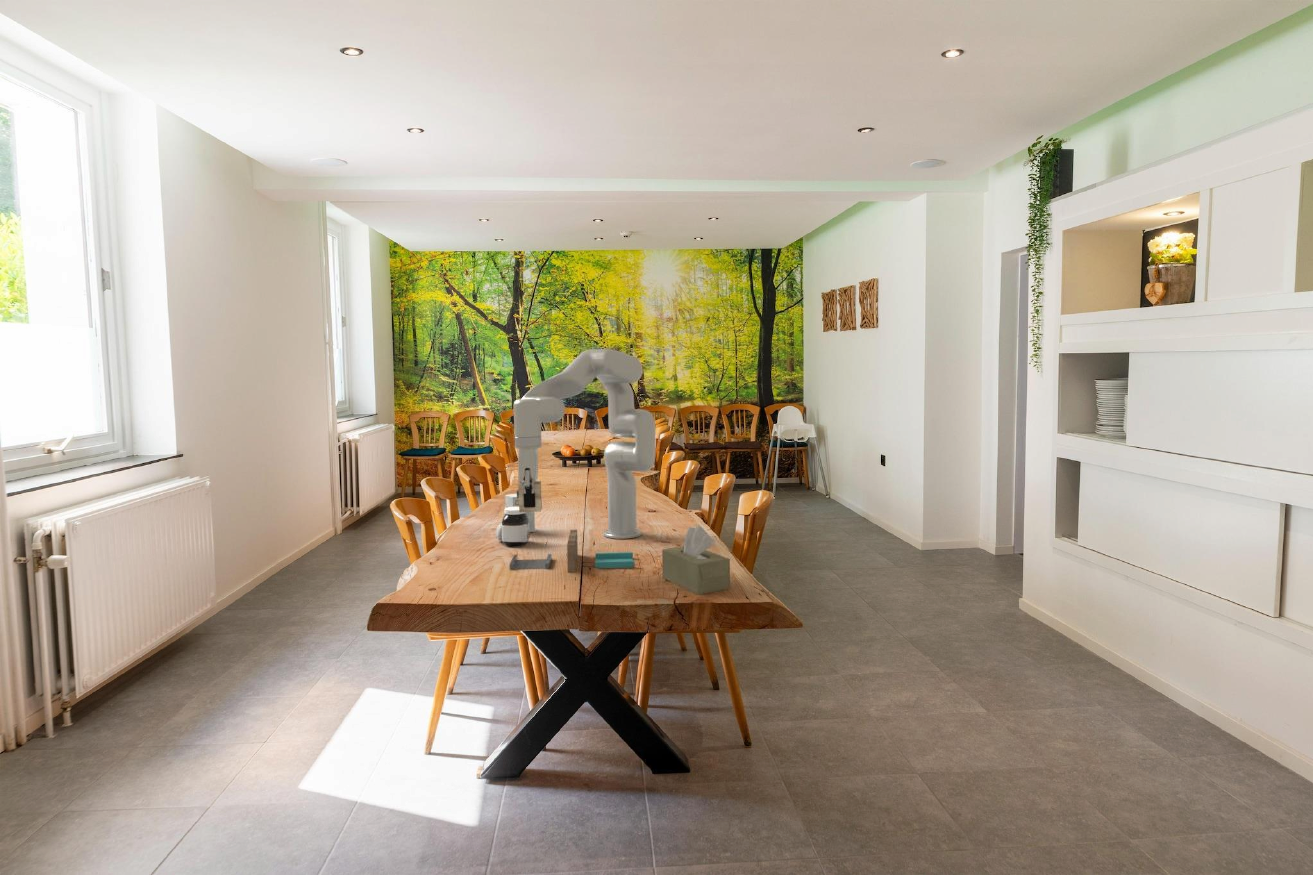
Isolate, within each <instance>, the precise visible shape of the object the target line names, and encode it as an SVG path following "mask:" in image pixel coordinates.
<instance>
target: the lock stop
mask: <svg viewBox="0 0 1313 875" xmlns="http://www.w3.org/2000/svg"><path fill="white" fill-rule="evenodd" d="M531 486H532V485H531ZM517 487H518V488H517V490H516V494H517V498H519V512H534V513H537V512H542V509H543V502H542V498H543V497H542V481H541V480H539V481H538V480H536V482H535V483H534V493H535V507H530V508H525V507H524V495H523V494H524V481H523V482H522V483H519V482H518V484H517Z"/></svg>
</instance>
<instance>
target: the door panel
mask: <svg viewBox="0 0 1313 875" xmlns="http://www.w3.org/2000/svg"><path fill="white" fill-rule="evenodd" d="M568 534H569V536H568V540H567V544H566V552H567V553H566V554H567V555H566V556H567V573H576V568H577V563H578V562H577V561H578V557H579V556H578V548H579V547H578V545H579V544H578V529H570V531H569V533H568Z"/></svg>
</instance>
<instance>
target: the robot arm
mask: <svg viewBox="0 0 1313 875" xmlns="http://www.w3.org/2000/svg"><path fill="white" fill-rule="evenodd" d="M643 370H644V369H643V365H642V362H641V361H640V359H638V358H637V357H636V356H633V355H631V354H628V353H625V352H623V351H619V350H616V349H612V348H590V349H586V350H583V351H582V352H581V353H579V355H578V356H576V357H575V358H574V359H573V360H572V362H570V363H569V364H568V366H566V367H565V368H564V369H563V370H562V371H561V372H559V373H557V374H555V375H553V376H551V377H549V378H547V379H545V380H542V381H540V382H539V383H537V384H535V385H533V387H531V388H530V389H529V390H528V391H527V392H526V393H525V394H524V395H523V396H522V398H519V399H516V400H514V402H513V407H512V408H513V421H514V422H513V426H514V428H513V430H514V448H515V449H517V450H518V451H517V452H518V454H517V455H518V457H517V461H518V462H517V467H518V469H517V470H518V471H517V473H518V481H517V482H518V484H519V483H522V482H524V494H523V495H524V507H525V508H530V507H535V493H534V483H535V482H536V481H538V477H539V451H538V450H539V449H540V448H542V447H543V446H542V442H543V441H542V423H548V424H549V423H551V424H553V423H556V422H559V421H560V420H562V418H563V417H564V416H565V413H566V407H565V403H564V402H563V401H562V400H565V399H567V398H572V397H574V396H578V395H580V394H581V393H582V392H583V391H584V390H585V389H586V388H587V387H588V386H589V385H590V383H592V381H594V380H595V378H596V379H597V380H598V381H599V382H600V384H602V386H603V387H604V388H605V391H606V393H607V400H608V401H607V402H608V403H607V405H608V406H607V407H608V408H607V410H608V412H607V413H608V417H607V418H608V430H609V433H610V434H611V435H612V436H614V437H616V438H629V439H630V438H631V439H635V441H625V440H623V441H621V440H619V441H616V440H615V441H612V442H610V443H609V444H607V445H606V446H605V449H604V452H603V458H604V460H603V461H604V464H605V470H606V478H607V524H608V525H607V526H608V527H607V528H608V529H606V530H604V531H603V536H604V537H606V538H609V539H616V540H617V539H618V540H619V539H620V540H621V539H622V540H623V539H634V538H638V537H640V536H641V535H642V530H640V529H639V528H637V527H638V526H637V525H638V524H637V518H638V517H637V482H636V478H635V476H634V474H633V472H643V473H645V472H648V471H651V469H652V468H653V467H654V465H655V461H656V422H655V419H654V416H653V414H652V413H651V412H650V411H649V410H646V409H639V408H638V409H636V408H635V398H634V391H633V388H632V387H631V385H630V384H635V383H636V382H638V381H639V380H640V379H641V377H642V375H643ZM531 485H532V486H531Z"/></svg>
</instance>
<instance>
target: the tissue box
mask: <svg viewBox="0 0 1313 875" xmlns="http://www.w3.org/2000/svg"><path fill="white" fill-rule="evenodd" d="M715 542H716V540H715V539H714V538H712V537H711V536H710V535H709V534H708V532H707V531H706V530H705V528H703V527H702V526H701V525H700V524H696V525H695V528H694V527H691V526H690V527H688V529H687V531H686V534H685V538H684V543H683V544H684V545H682V546H677V547H671V548H670V547H669V548H662V552H661V553H662V556H661V557H662V558H661V560H662V562H661V563H662V579H664V580H666V579H667V580H666V581H668V582H670V581H671V583H672V582H673V583H672V584H675V585H676V586H677V585H678V586H679V585H680V586H679V587H681V586H682V587H681V588H683V587H684V588H683V589H685V588H686V590H688V591H690V592H692V593H695V594H696V595H703V594H710V593H713V592H714V593H715V592H720V591H726V590H730V589H731V561H730V560H731V558H728V557H725V556H723V555H720V554H719V553H718V554H717V553H715V552H712V551H710V550H709V549H710V548H711V547H712V546H713V545H714V543H715Z"/></svg>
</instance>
